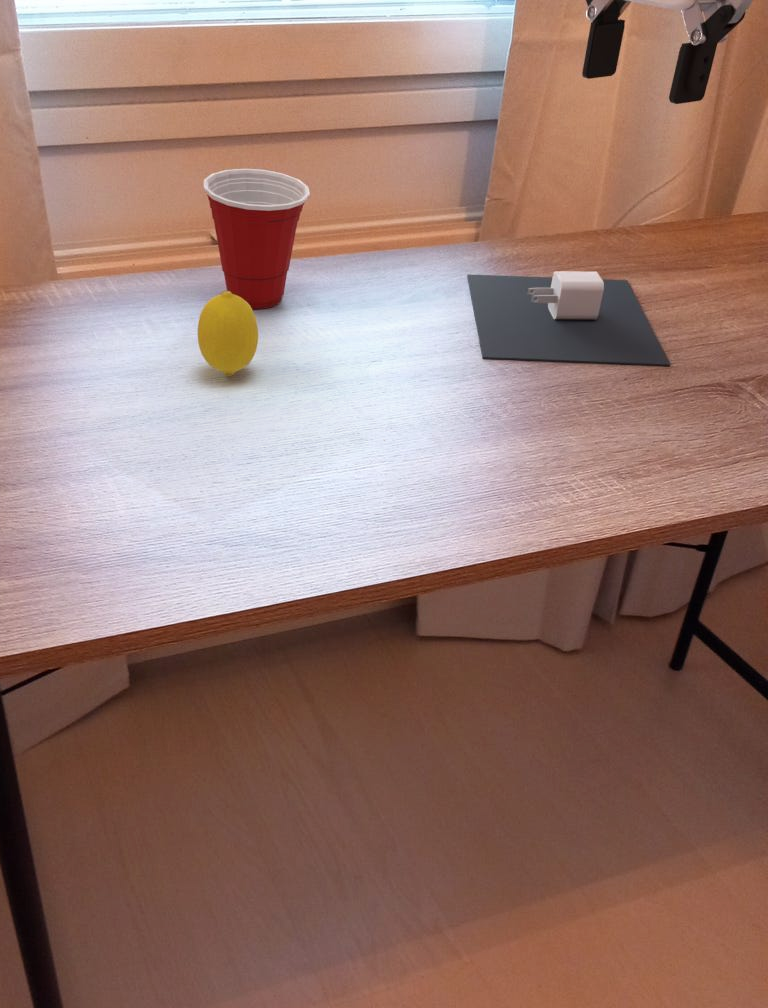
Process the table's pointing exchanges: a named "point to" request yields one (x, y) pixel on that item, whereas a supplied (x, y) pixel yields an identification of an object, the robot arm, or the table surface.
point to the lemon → (227, 333)
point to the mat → (560, 325)
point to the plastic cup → (255, 230)
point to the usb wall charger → (572, 295)
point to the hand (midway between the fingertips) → (640, 88)
